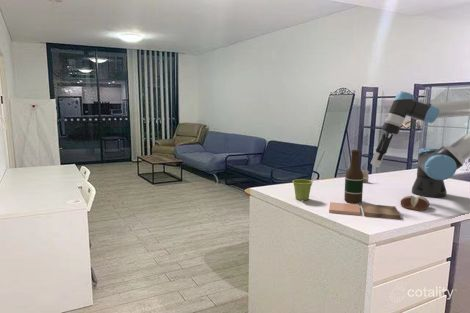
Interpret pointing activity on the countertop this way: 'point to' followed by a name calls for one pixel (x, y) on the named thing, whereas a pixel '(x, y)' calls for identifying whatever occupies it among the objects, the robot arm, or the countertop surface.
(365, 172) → the architectural model
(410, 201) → the bread
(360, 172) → the beer bottle
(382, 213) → the walnut board
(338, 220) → the countertop surface
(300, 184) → the plant pot
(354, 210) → the terracotta tile
